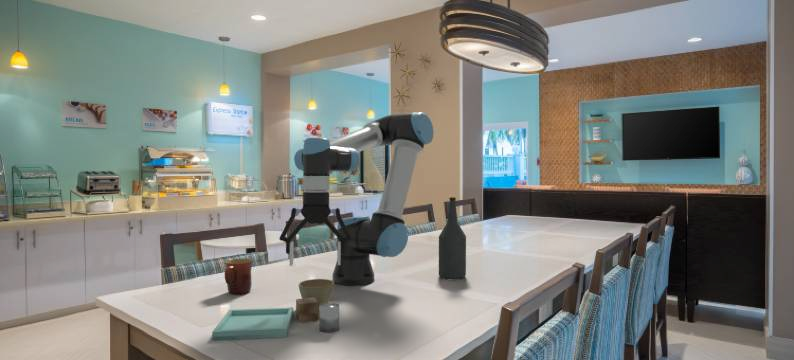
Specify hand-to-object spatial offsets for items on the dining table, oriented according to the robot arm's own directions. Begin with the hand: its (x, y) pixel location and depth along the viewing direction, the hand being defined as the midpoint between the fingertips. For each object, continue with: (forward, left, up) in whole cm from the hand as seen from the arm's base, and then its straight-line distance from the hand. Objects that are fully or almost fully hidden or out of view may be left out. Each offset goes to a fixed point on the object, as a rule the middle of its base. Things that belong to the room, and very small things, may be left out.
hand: (315, 264), depth 131 cm
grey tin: (-4, +19, -13) cm, 23 cm away
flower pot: (0, 0, -13) cm, 13 cm away
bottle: (-49, -32, -13) cm, 60 cm away
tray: (+14, +14, -13) cm, 24 cm away
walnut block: (+2, +10, -13) cm, 16 cm away
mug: (+26, -18, -13) cm, 34 cm away
